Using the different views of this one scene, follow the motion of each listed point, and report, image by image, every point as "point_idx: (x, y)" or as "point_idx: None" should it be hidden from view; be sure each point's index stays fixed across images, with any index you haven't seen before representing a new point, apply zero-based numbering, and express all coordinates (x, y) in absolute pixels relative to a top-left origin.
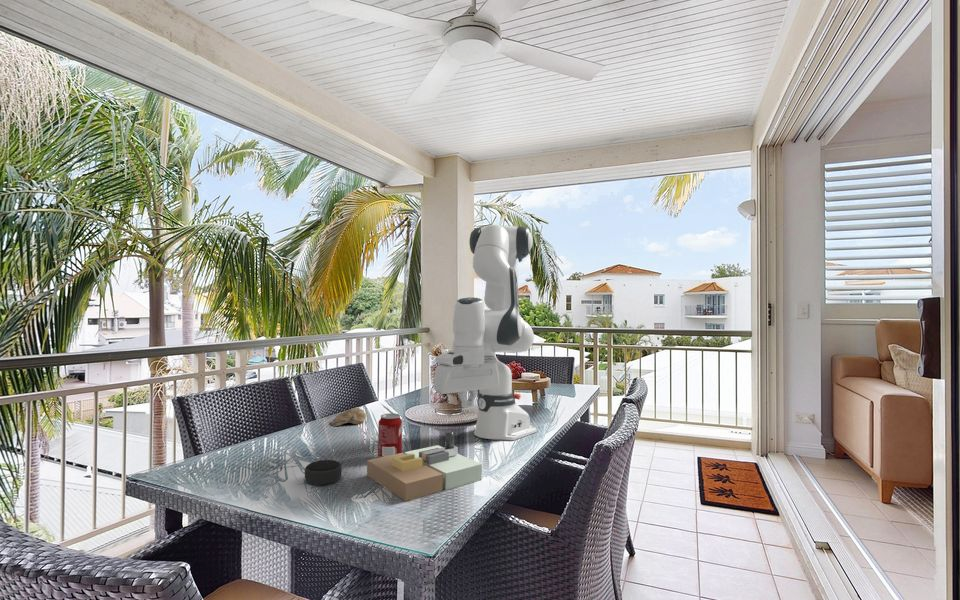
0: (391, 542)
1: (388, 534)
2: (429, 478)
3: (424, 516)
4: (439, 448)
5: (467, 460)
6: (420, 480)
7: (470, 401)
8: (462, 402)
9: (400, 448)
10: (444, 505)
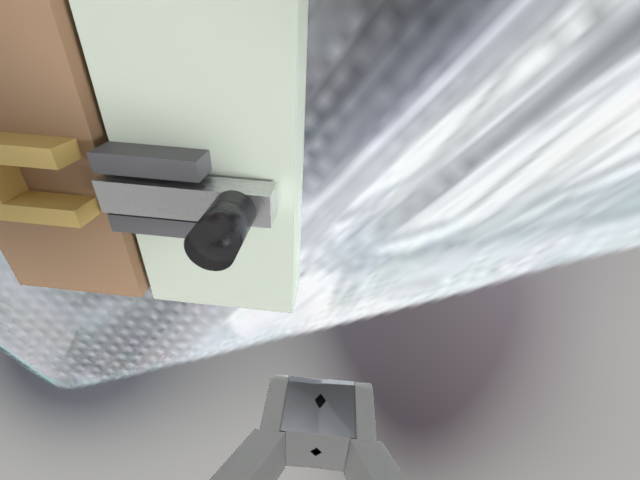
0: (7, 347)
1: (4, 330)
2: (97, 291)
3: (82, 323)
4: (186, 190)
5: (275, 267)
6: (67, 288)
7: (326, 463)
8: (264, 421)
9: None
10: (138, 317)
